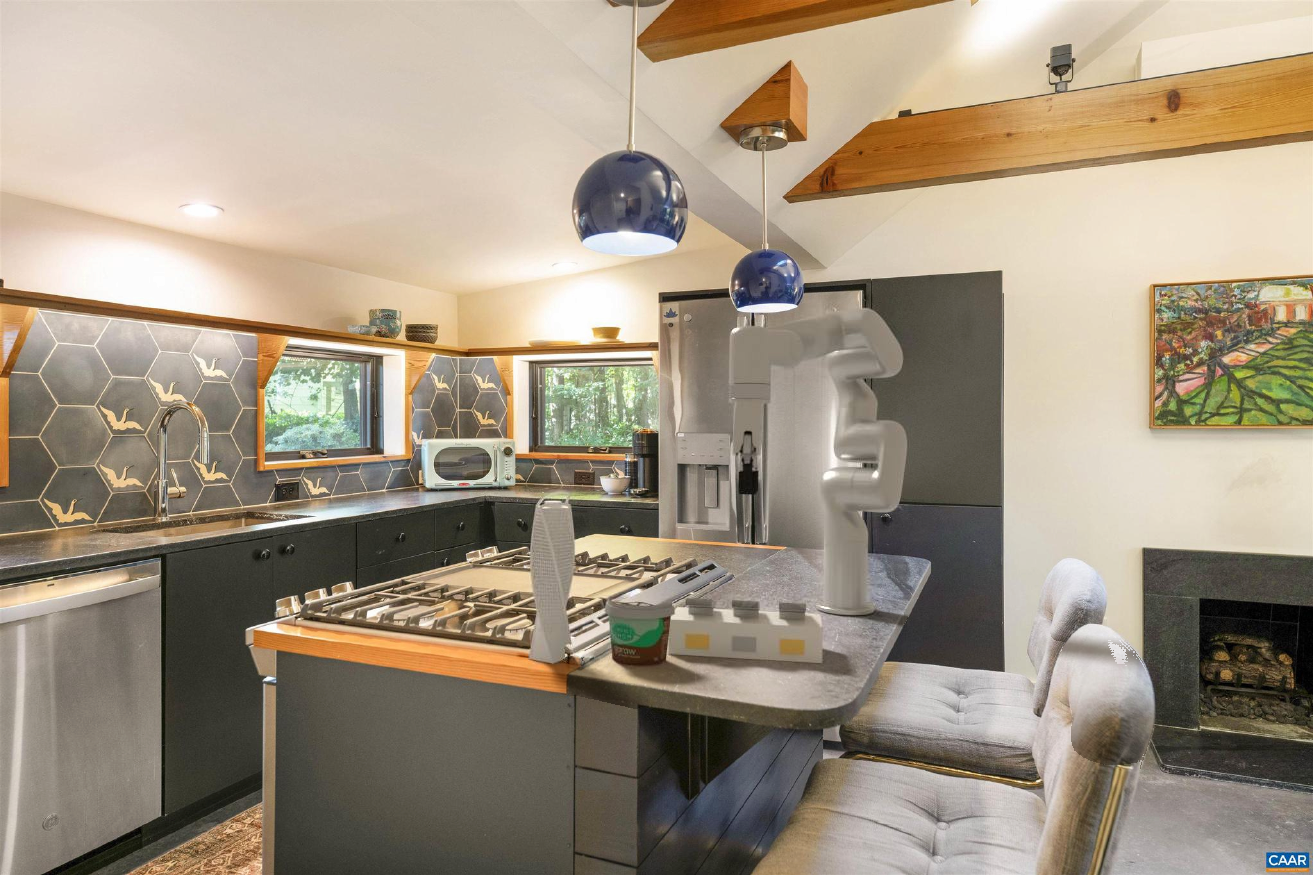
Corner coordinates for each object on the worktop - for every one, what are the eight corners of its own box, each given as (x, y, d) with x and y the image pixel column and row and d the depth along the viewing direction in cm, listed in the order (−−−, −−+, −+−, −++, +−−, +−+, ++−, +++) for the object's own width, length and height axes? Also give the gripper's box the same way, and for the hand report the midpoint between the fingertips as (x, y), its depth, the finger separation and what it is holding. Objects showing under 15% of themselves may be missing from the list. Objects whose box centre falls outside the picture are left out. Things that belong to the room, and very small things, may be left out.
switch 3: (779, 611, 136) (779, 604, 136) (804, 612, 135) (804, 605, 135) (778, 609, 128) (779, 602, 129) (805, 611, 127) (805, 603, 128)
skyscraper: (549, 648, 133) (551, 489, 133) (583, 655, 129) (585, 491, 129) (519, 659, 126) (521, 492, 126) (555, 666, 122) (557, 494, 123)
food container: (591, 663, 125) (592, 602, 125) (606, 653, 130) (607, 595, 130) (661, 671, 120) (662, 609, 120) (674, 661, 126) (675, 601, 126)
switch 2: (734, 608, 137) (734, 602, 138) (759, 610, 136) (759, 603, 137) (731, 607, 130) (731, 600, 130) (758, 608, 129) (758, 601, 129)
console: (676, 639, 140) (677, 600, 140) (819, 647, 136) (819, 607, 136) (668, 654, 130) (668, 612, 130) (822, 663, 126) (822, 620, 126)
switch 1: (690, 606, 139) (691, 600, 139) (715, 608, 138) (715, 601, 138) (685, 605, 131) (685, 597, 131) (711, 606, 130) (711, 599, 130)
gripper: (732, 398, 147) (731, 489, 146) (725, 391, 129) (724, 495, 129) (771, 398, 145) (770, 490, 145) (769, 391, 128) (768, 496, 128)
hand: (748, 492), depth 137 cm, fingers open, 6 cm apart
